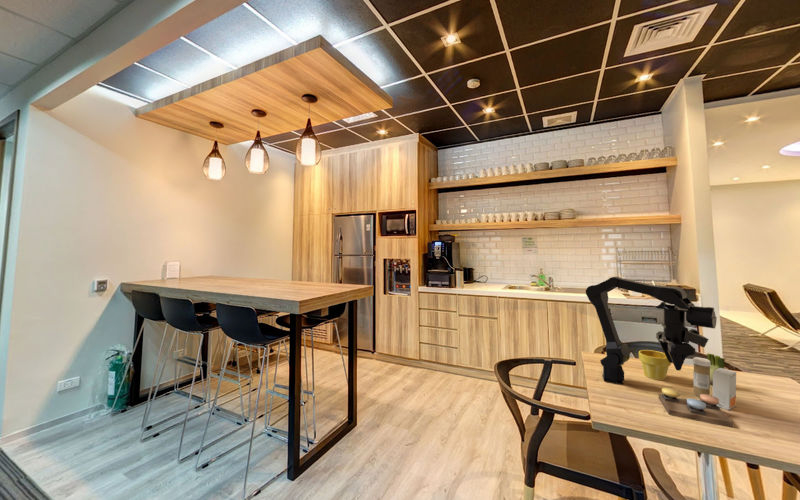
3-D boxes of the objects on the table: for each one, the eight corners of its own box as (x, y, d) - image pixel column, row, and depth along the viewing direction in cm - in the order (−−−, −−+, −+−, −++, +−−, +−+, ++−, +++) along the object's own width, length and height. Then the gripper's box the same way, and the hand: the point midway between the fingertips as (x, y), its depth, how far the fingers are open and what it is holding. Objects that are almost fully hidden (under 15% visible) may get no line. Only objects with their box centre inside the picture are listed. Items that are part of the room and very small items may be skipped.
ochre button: (663, 398, 105) (664, 391, 105) (660, 392, 108) (660, 386, 108) (680, 401, 102) (680, 394, 102) (676, 395, 106) (676, 389, 106)
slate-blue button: (689, 410, 97) (689, 403, 97) (684, 403, 101) (684, 397, 101) (708, 413, 95) (708, 406, 95) (702, 407, 99) (702, 400, 99)
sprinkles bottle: (711, 396, 111) (712, 359, 110) (708, 399, 108) (708, 362, 108) (694, 391, 114) (695, 355, 114) (691, 394, 112) (691, 358, 112)
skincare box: (729, 410, 101) (730, 375, 101) (712, 405, 105) (712, 370, 104) (736, 406, 104) (736, 371, 104) (719, 400, 107) (719, 367, 107)
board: (668, 414, 99) (668, 407, 99) (658, 398, 109) (658, 391, 109) (733, 427, 92) (733, 419, 92) (715, 408, 102) (715, 401, 102)
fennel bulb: (727, 389, 116) (727, 358, 116) (710, 386, 118) (710, 356, 118) (718, 382, 122) (718, 353, 122) (702, 380, 123) (702, 351, 123)
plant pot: (643, 380, 124) (643, 356, 124) (635, 370, 134) (635, 348, 134) (675, 384, 120) (675, 359, 120) (664, 374, 130) (664, 351, 130)
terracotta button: (703, 405, 100) (703, 398, 100) (697, 399, 104) (697, 392, 104) (721, 408, 98) (721, 401, 98) (715, 402, 102) (715, 395, 102)
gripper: (717, 331, 96) (717, 380, 96) (694, 319, 112) (694, 361, 112) (671, 327, 101) (671, 374, 101) (655, 316, 118) (656, 356, 118)
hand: (674, 366), depth 108 cm, fingers open, 8 cm apart
